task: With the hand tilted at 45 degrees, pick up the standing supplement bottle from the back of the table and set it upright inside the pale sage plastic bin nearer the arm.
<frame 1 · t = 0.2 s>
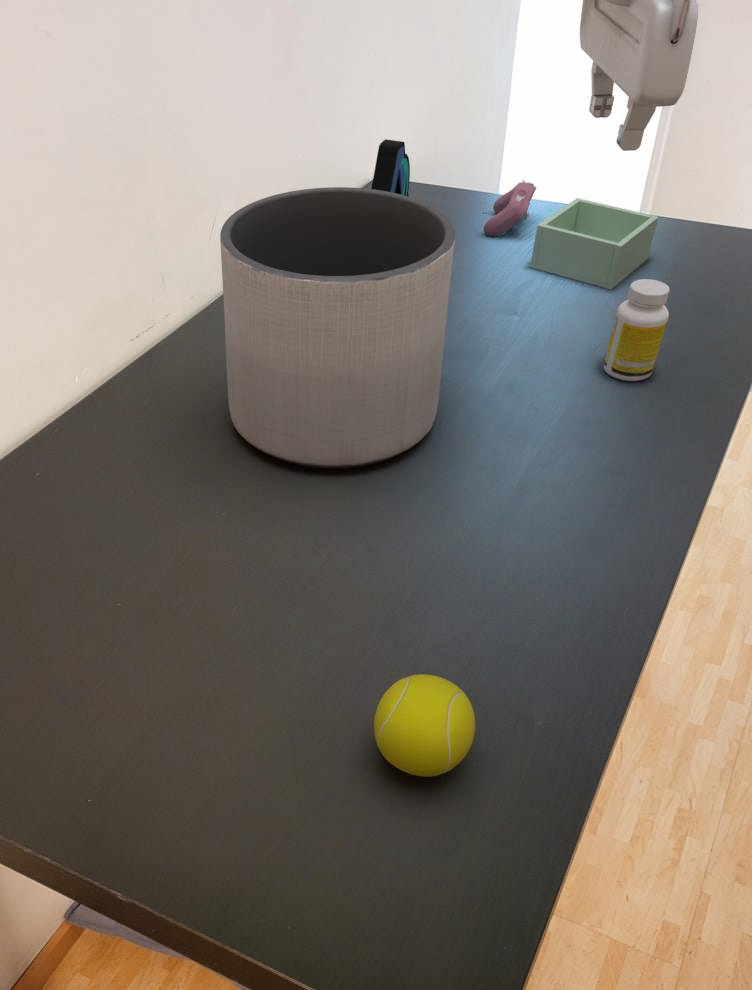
hand: (612, 131, 88), 25 cm above the table, tool pointing down, fingers open, 8 cm apart
planter: (332, 419, 101), on the table
supplement bottle: (626, 372, 106), on the table
bin: (589, 263, 126), on the table
tennis ball: (419, 757, 68), on the table
mauve lumpy piece: (507, 227, 136), on the table
decorative sign: (385, 261, 129), on the table
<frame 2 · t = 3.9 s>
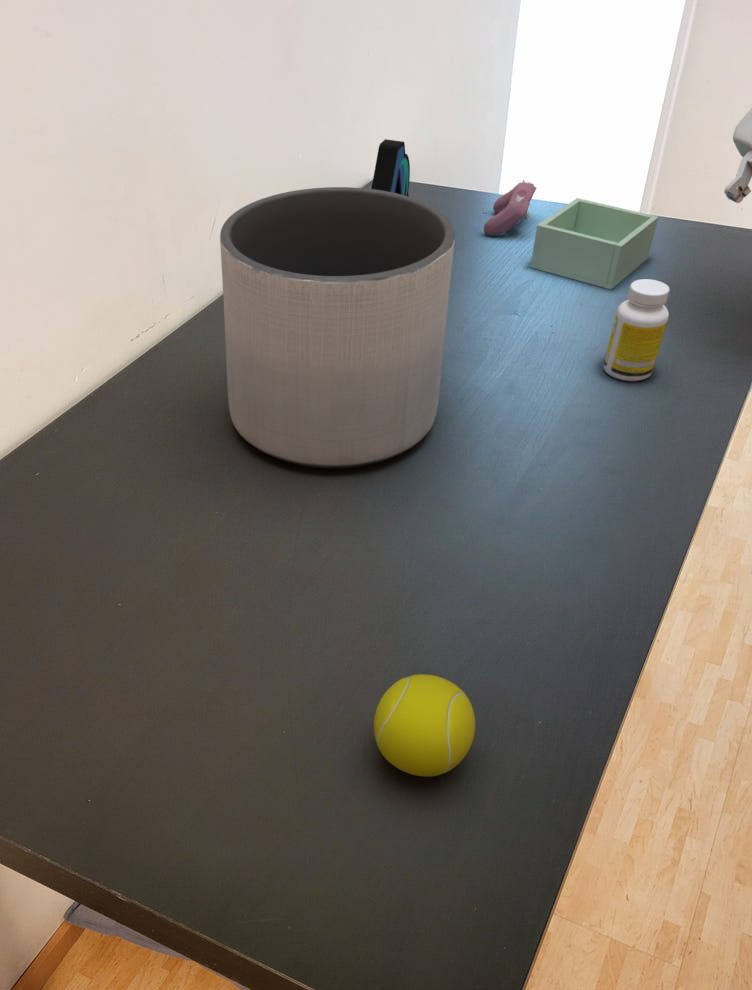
nothing on the table moved.
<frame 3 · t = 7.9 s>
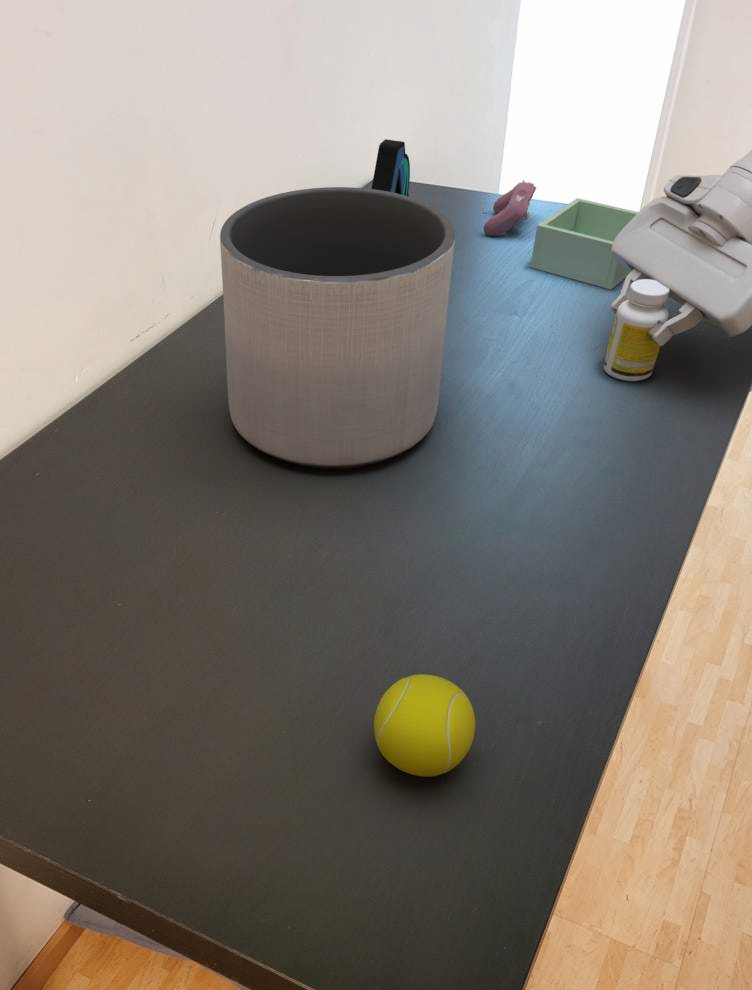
hand: (633, 326, 102), 5 cm above the table, tool tilted 45°, fingers closed on supplement bottle, 5 cm apart
supplement bottle: (626, 372, 106), on the table, touching gripper
everything else where it was.
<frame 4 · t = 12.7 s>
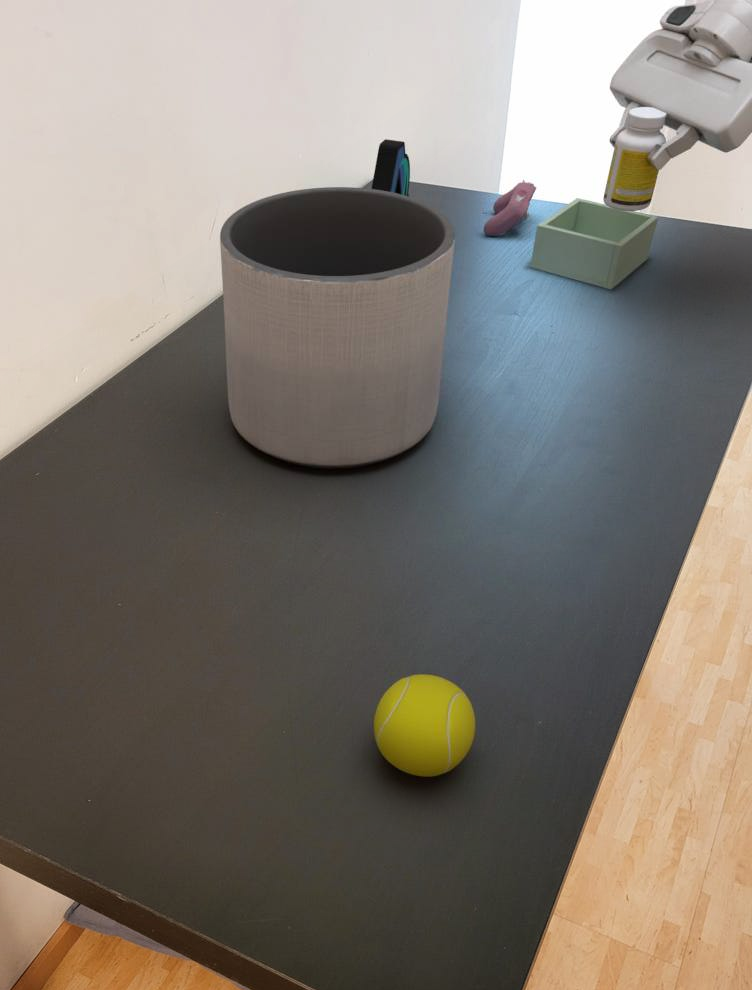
hand: (632, 155, 106), 17 cm above the table, tool tilted 45°, fingers closed on supplement bottle, 5 cm apart
supplement bottle: (625, 205, 110), point 12 cm above the table, touching gripper
everything else where it was.
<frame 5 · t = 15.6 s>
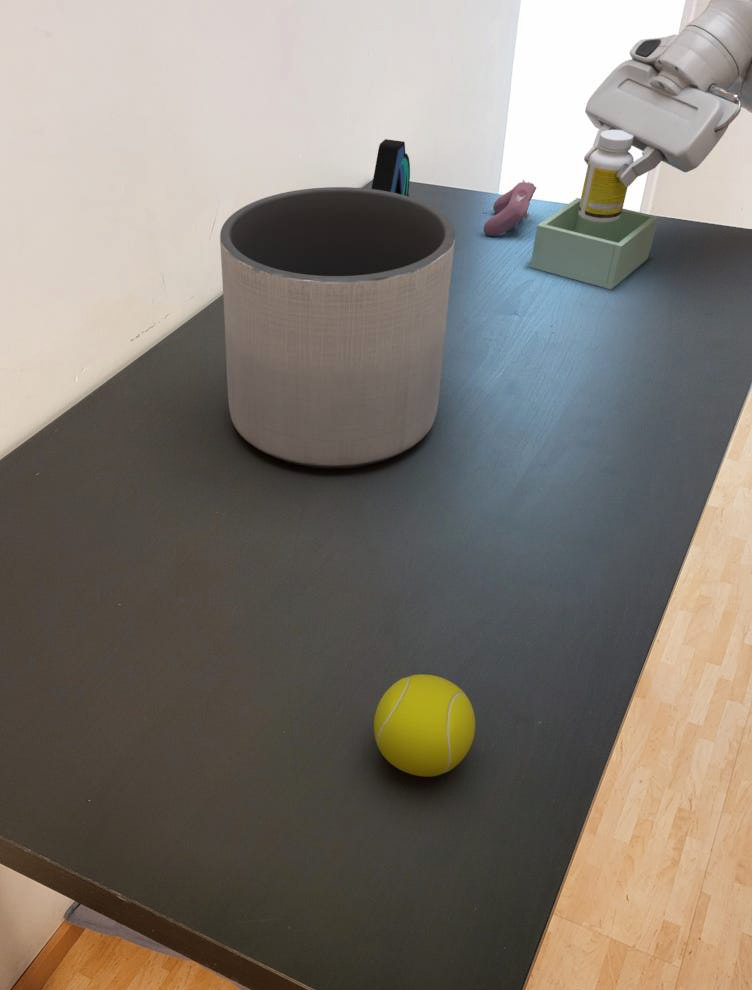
hand: (604, 172, 118), 12 cm above the table, tool tilted 45°, fingers closed on supplement bottle, 5 cm apart
supplement bottle: (598, 217, 122), point 6 cm above the table, touching gripper
everything else where it was.
when the fingers open (6 cm above the table, at t = 17.7 s): supplement bottle stays where it is, resting on bin.
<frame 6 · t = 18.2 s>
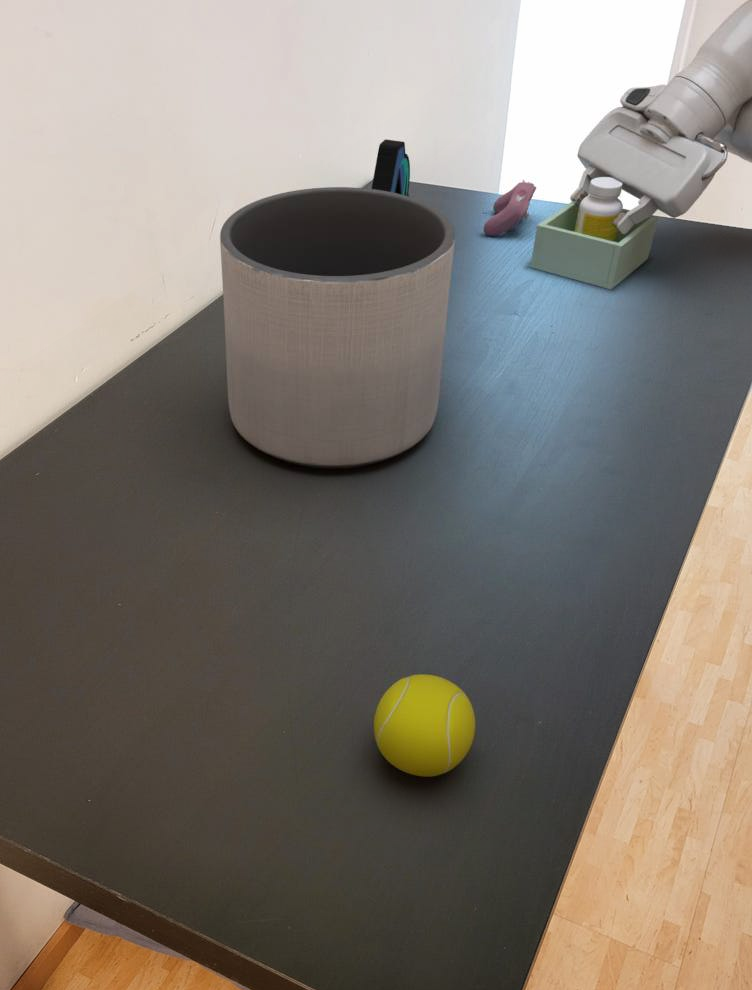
hand: (595, 216, 122), 6 cm above the table, tool tilted 45°, fingers open, 8 cm apart
supplement bottle: (589, 260, 126), resting on bin
everything else where it was.
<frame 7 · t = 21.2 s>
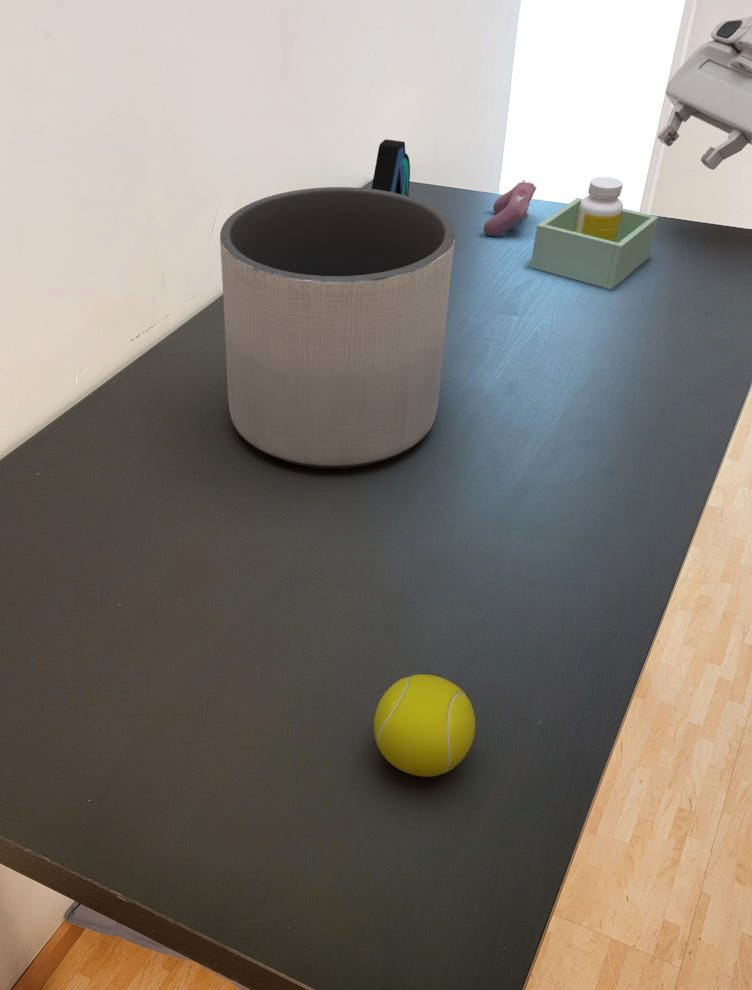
hand: (683, 153, 122), 12 cm above the table, tool tilted 40°, fingers open, 8 cm apart
nothing on the table moved.
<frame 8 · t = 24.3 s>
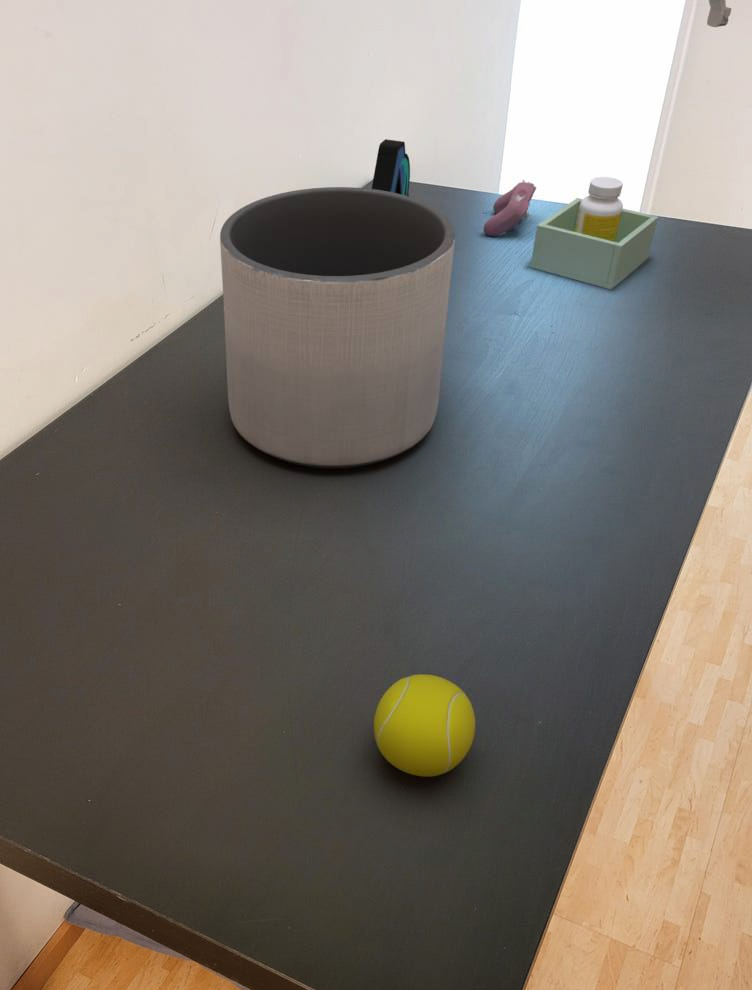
hand: (749, 21, 109), 27 cm above the table, tool pointing down, fingers open, 8 cm apart
nothing on the table moved.
at the end: supplement bottle inside the target area in the bin (0.0 cm from its centre), point 0.4 cm above the bin's base; supplement bottle tilted 0° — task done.
